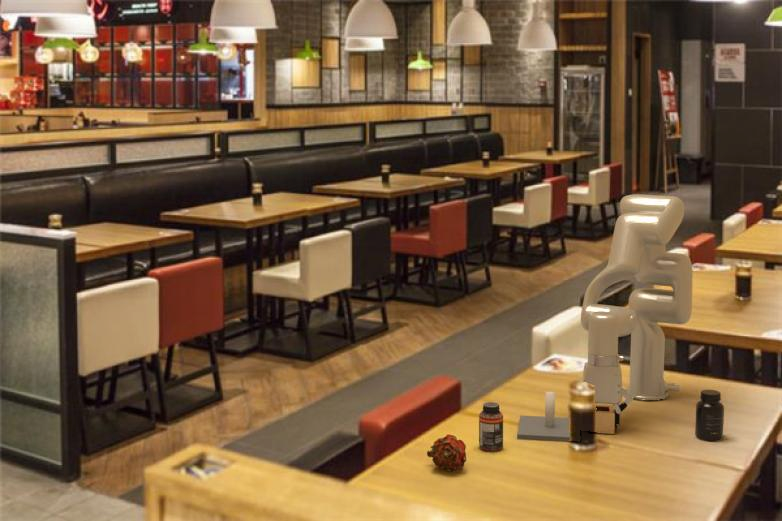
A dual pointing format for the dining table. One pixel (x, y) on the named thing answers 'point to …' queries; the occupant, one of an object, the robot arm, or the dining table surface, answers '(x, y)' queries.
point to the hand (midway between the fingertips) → (601, 425)
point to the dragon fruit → (448, 453)
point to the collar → (605, 419)
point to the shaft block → (544, 424)
